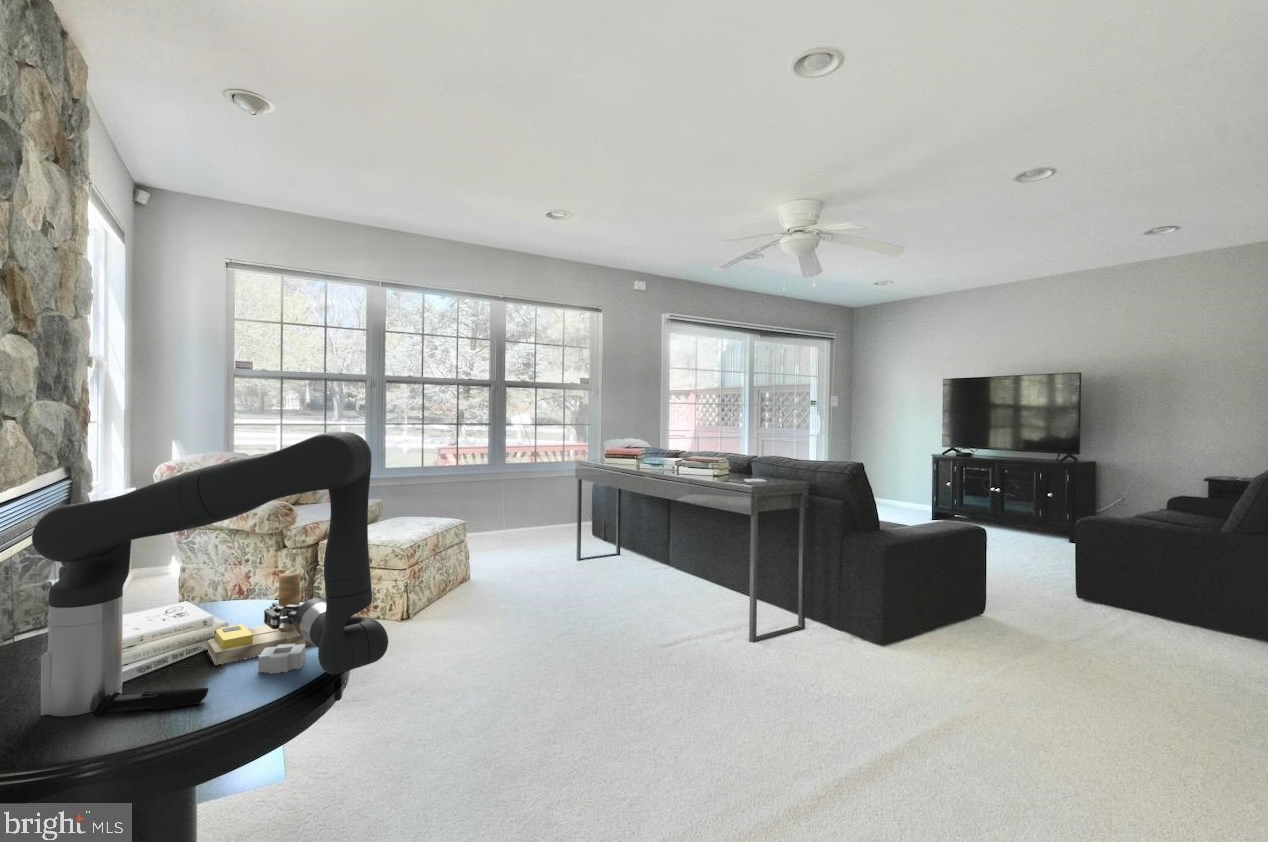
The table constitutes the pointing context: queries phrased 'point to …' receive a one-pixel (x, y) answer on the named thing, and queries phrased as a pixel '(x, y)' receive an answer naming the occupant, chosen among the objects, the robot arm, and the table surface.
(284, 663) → the block
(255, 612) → the table surface
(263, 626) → the board
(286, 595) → the awl
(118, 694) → the electric trimmer
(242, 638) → the block
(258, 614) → the table surface
